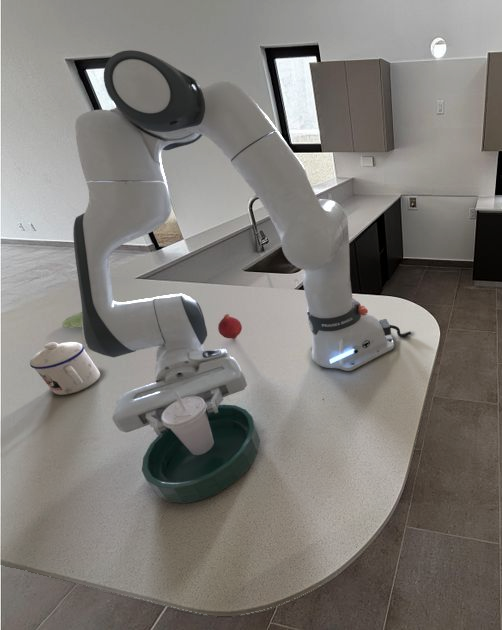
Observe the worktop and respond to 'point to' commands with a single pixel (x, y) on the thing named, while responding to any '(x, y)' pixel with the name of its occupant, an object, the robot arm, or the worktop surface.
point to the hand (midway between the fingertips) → (188, 420)
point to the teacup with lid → (65, 367)
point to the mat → (73, 321)
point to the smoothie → (189, 423)
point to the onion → (229, 327)
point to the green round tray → (202, 458)
